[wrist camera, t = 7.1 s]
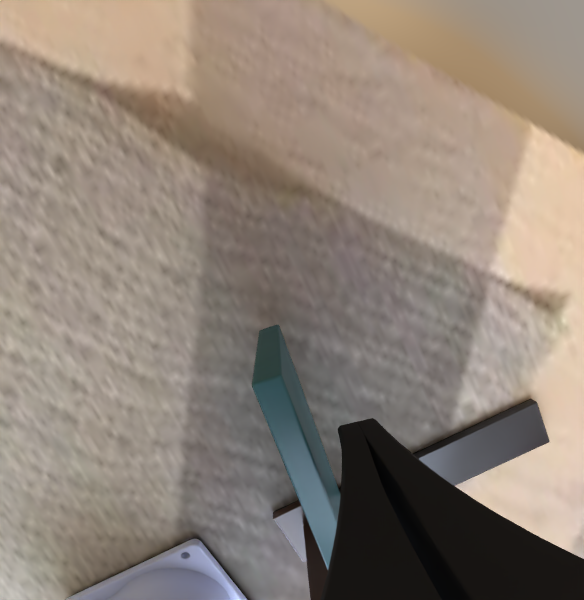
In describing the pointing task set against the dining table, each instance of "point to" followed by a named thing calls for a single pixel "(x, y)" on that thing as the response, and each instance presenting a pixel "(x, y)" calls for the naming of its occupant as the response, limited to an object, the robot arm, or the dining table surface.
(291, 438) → the door
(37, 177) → the dining table surface
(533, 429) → the door frame
